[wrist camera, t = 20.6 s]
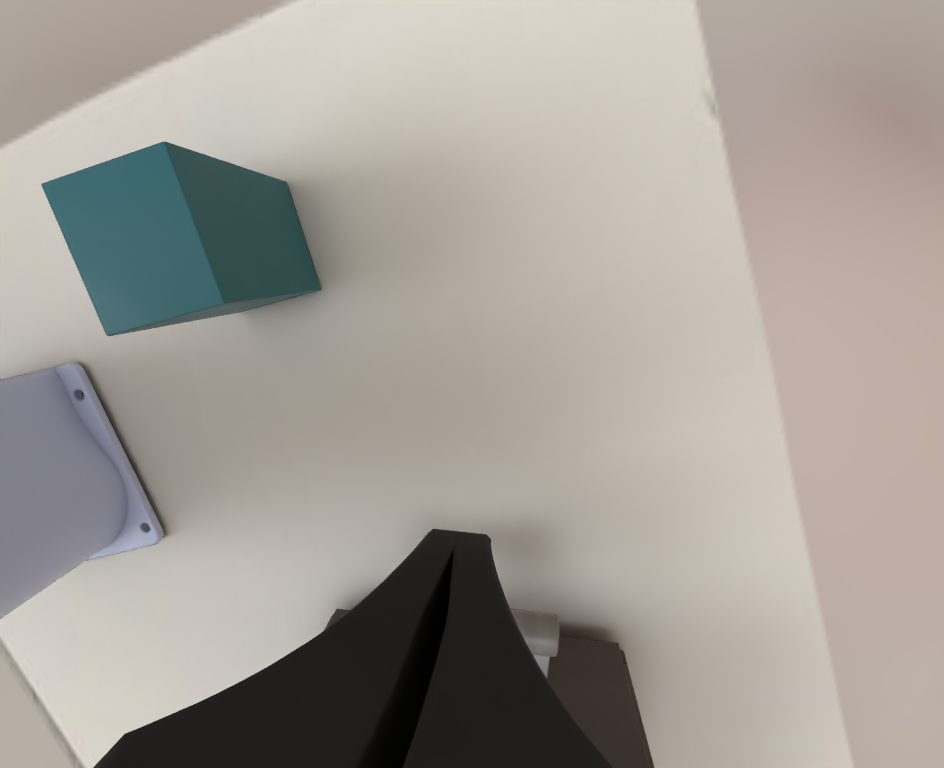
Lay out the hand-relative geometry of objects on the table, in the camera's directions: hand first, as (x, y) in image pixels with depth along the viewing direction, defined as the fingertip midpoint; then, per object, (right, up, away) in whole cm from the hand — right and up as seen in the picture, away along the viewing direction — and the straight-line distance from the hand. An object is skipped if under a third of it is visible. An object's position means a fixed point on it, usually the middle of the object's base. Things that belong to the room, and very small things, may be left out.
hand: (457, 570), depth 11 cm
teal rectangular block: (-8, +10, +9) cm, 16 cm away
